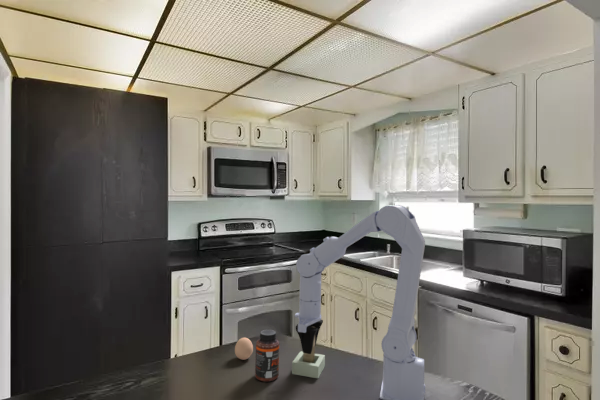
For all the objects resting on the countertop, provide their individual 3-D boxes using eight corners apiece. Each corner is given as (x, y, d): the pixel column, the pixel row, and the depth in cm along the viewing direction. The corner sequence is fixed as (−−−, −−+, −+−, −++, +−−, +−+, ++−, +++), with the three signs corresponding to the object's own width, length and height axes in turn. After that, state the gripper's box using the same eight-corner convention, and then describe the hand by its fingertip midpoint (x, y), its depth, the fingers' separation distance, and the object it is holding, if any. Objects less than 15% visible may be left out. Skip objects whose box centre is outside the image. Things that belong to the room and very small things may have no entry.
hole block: (324, 366, 96) (325, 355, 96) (318, 378, 89) (318, 366, 89) (300, 362, 98) (300, 351, 98) (292, 373, 91) (292, 362, 91)
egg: (235, 355, 102) (235, 334, 102) (253, 354, 102) (253, 334, 102) (233, 363, 97) (234, 341, 97) (252, 362, 97) (253, 341, 97)
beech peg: (315, 360, 95) (316, 326, 95) (312, 365, 92) (313, 330, 92) (304, 358, 96) (305, 325, 95) (301, 363, 93) (302, 328, 93)
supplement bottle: (275, 384, 86) (276, 337, 86) (251, 381, 87) (252, 335, 87) (281, 372, 92) (282, 329, 92) (259, 369, 93) (260, 326, 93)
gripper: (303, 290, 102) (302, 337, 102) (286, 304, 88) (285, 359, 88) (327, 293, 100) (326, 341, 100) (314, 308, 86) (312, 364, 86)
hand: (309, 350), depth 94 cm, fingers closed on beech peg, 3 cm apart
